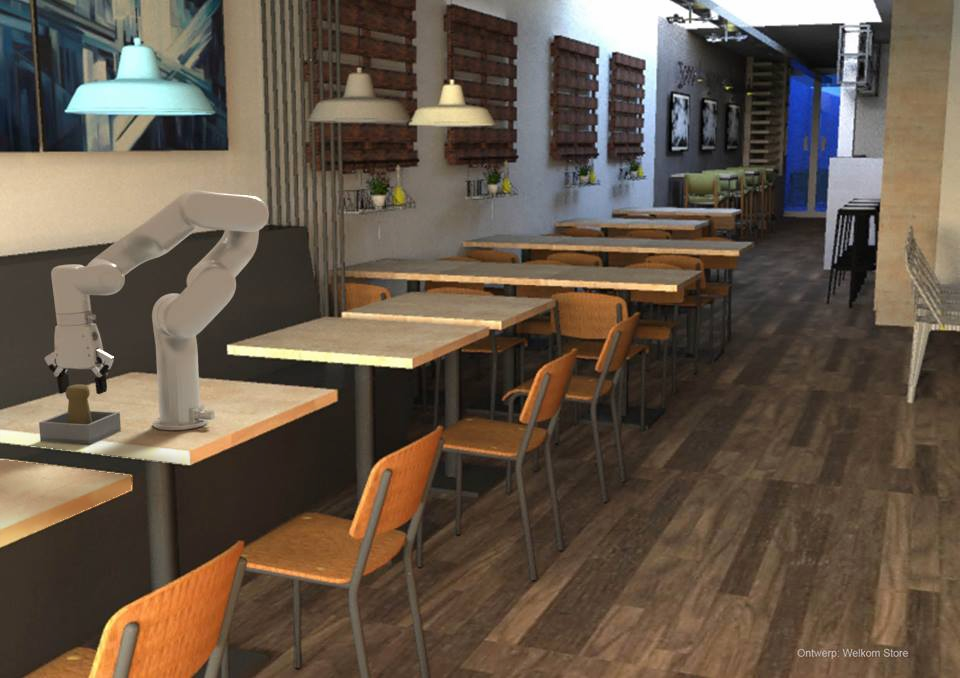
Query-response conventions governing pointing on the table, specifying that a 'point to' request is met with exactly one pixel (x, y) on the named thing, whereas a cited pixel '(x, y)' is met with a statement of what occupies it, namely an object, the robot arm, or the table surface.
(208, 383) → the table surface
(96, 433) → the box
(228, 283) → the robot arm
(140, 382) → the table surface
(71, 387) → the cork
